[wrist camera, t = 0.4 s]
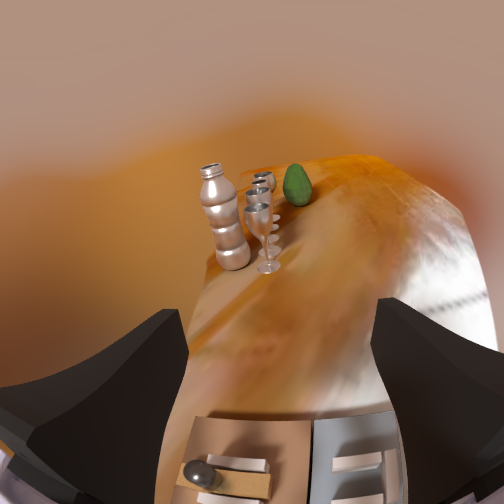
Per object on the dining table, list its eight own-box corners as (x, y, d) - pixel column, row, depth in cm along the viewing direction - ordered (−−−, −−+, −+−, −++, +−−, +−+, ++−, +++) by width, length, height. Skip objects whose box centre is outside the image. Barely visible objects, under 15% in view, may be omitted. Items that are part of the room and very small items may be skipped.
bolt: (184, 488, 17) (158, 475, 15) (189, 467, 19) (166, 451, 17) (270, 500, 15) (259, 493, 13) (273, 477, 17) (263, 465, 15)
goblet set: (284, 271, 49) (271, 202, 43) (253, 276, 50) (236, 208, 44) (282, 212, 73) (273, 165, 67) (261, 216, 74) (251, 168, 68)
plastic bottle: (214, 266, 55) (185, 171, 46) (242, 252, 58) (219, 160, 49) (229, 279, 50) (199, 173, 41) (259, 263, 53) (236, 161, 43)
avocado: (309, 198, 79) (303, 158, 73) (317, 206, 72) (312, 163, 66) (283, 203, 79) (275, 164, 73) (289, 213, 72) (281, 169, 66)
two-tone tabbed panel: (170, 537, 13) (147, 534, 11) (201, 423, 26) (187, 405, 24) (396, 546, 9) (411, 547, 6) (390, 417, 21) (399, 398, 19)
